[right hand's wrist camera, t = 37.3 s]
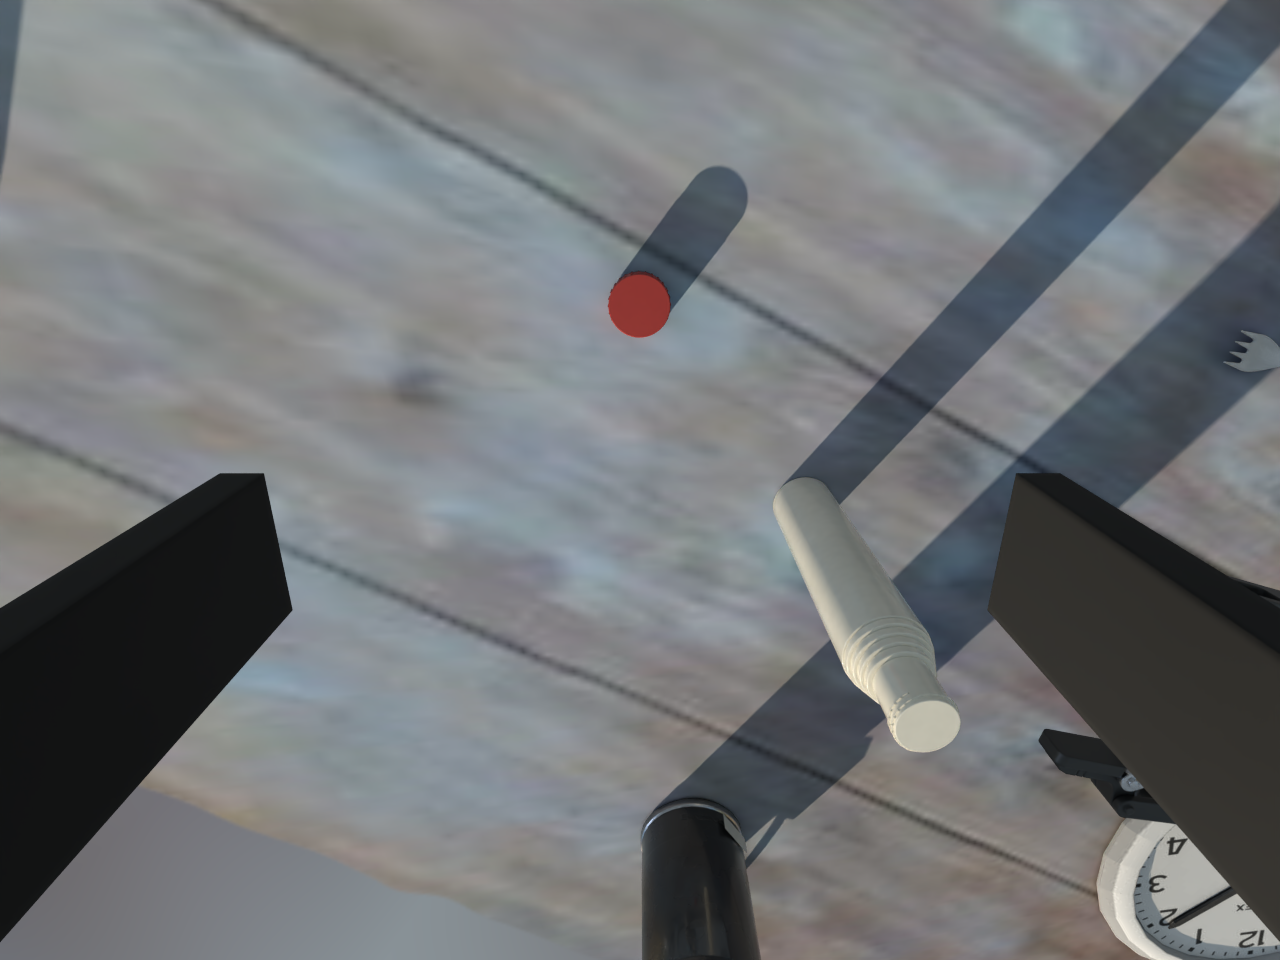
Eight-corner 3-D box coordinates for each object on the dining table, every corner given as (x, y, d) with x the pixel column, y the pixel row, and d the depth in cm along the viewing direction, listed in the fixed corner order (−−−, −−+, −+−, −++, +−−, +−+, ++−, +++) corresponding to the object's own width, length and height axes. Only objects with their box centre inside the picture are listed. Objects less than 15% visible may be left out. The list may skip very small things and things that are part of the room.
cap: (598, 312, 47) (596, 317, 45) (628, 258, 46) (628, 260, 44) (649, 343, 48) (650, 349, 46) (681, 291, 47) (683, 295, 44)
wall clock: (1485, 723, 57) (1411, 963, 68) (1463, 710, 59) (1394, 947, 69) (1115, 777, 59) (1100, 1001, 70) (1103, 763, 61) (1090, 985, 72)
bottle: (788, 468, 51) (906, 670, 28) (842, 488, 52) (1001, 701, 29) (763, 520, 53) (857, 751, 30) (816, 539, 53) (947, 779, 31)
